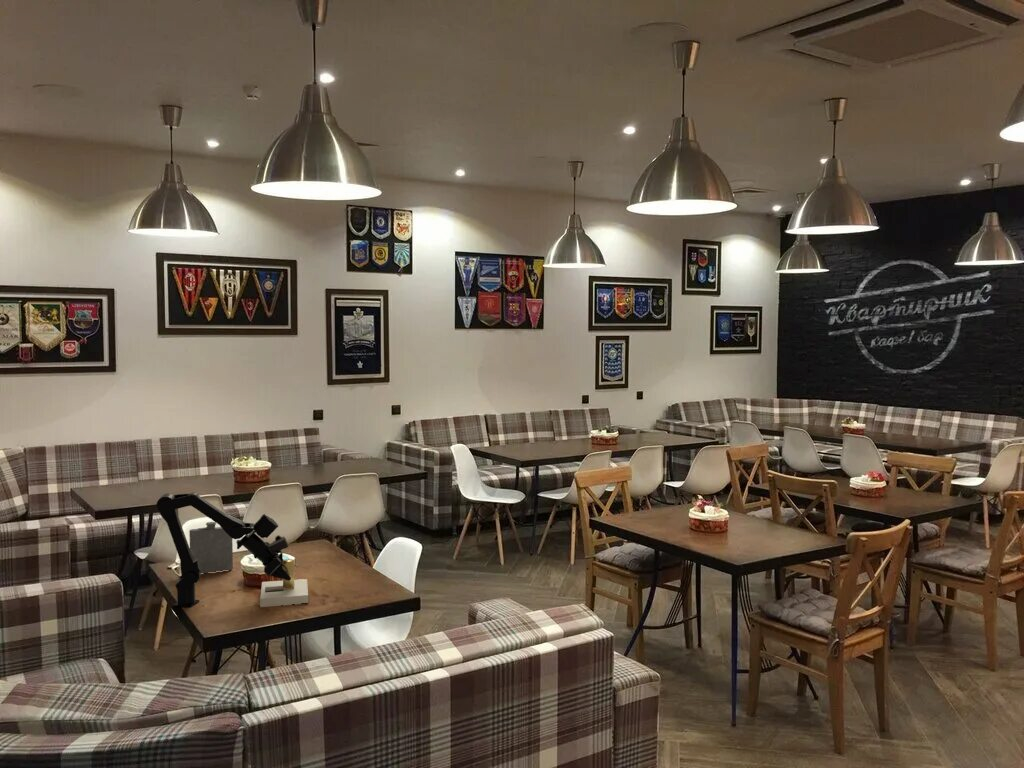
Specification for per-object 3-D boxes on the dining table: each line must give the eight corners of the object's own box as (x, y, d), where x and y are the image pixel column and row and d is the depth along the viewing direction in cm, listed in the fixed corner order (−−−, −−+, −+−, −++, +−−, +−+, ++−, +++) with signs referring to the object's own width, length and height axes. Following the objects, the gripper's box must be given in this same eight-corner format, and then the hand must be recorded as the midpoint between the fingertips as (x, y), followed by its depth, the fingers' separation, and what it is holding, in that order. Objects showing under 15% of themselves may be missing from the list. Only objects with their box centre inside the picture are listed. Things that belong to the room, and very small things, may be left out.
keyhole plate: (260, 607, 286) (260, 598, 286) (262, 590, 306) (262, 582, 305) (308, 603, 290) (308, 595, 290) (307, 586, 310) (307, 578, 309)
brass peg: (291, 598, 295) (290, 562, 295) (279, 597, 297) (278, 561, 296) (298, 594, 300) (297, 559, 299) (286, 593, 301) (285, 558, 300)
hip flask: (232, 568, 333) (231, 519, 332) (233, 571, 330) (232, 521, 329) (190, 573, 327) (189, 523, 326) (190, 576, 323) (189, 525, 322)
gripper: (273, 536, 287) (307, 566, 290) (274, 524, 305) (306, 552, 308) (250, 560, 285) (283, 590, 289) (252, 547, 303) (284, 575, 307)
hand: (290, 575), depth 298 cm, fingers open, 9 cm apart
